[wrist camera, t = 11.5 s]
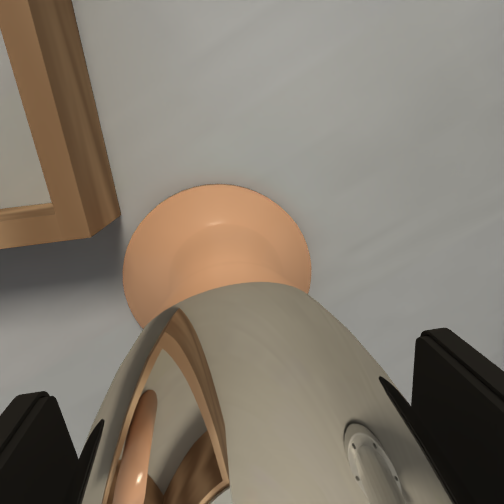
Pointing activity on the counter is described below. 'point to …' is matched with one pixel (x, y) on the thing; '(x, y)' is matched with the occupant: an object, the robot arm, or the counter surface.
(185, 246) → the beer glass
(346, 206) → the counter surface
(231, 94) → the counter surface
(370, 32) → the counter surface
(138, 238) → the orange dish
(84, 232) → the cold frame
